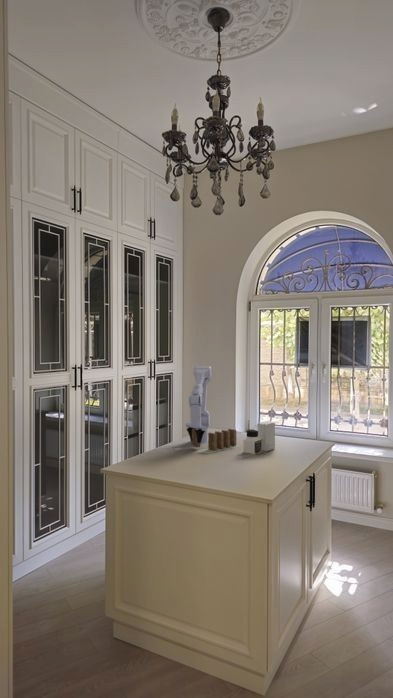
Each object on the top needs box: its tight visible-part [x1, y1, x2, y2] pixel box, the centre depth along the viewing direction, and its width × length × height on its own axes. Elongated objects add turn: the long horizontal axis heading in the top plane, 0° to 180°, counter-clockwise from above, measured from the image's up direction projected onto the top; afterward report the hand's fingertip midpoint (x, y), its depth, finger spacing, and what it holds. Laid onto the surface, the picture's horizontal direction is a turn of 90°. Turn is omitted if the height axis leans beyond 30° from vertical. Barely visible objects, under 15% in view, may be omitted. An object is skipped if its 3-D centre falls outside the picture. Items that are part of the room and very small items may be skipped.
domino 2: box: [214, 430, 224, 449], centre depth 250 cm, size 5×2×9 cm, turn 41°
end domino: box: [191, 429, 201, 448], centre depth 250 cm, size 5×2×9 cm, turn 41°
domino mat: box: [197, 444, 241, 455], centre depth 250 cm, size 8×26×1 cm, turn 131°
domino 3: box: [221, 429, 231, 449], centre depth 254 cm, size 5×2×9 cm, turn 41°
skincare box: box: [257, 420, 276, 452], centre depth 248 cm, size 8×6×15 cm
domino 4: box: [227, 428, 237, 446], centre depth 257 cm, size 5×2×9 cm, turn 41°
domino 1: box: [207, 431, 218, 452], centre depth 247 cm, size 5×2×9 cm, turn 41°
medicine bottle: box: [242, 428, 262, 456], centre depth 243 cm, size 7×7×12 cm
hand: (195, 441), depth 250 cm, fingers closed on end domino, 5 cm apart
